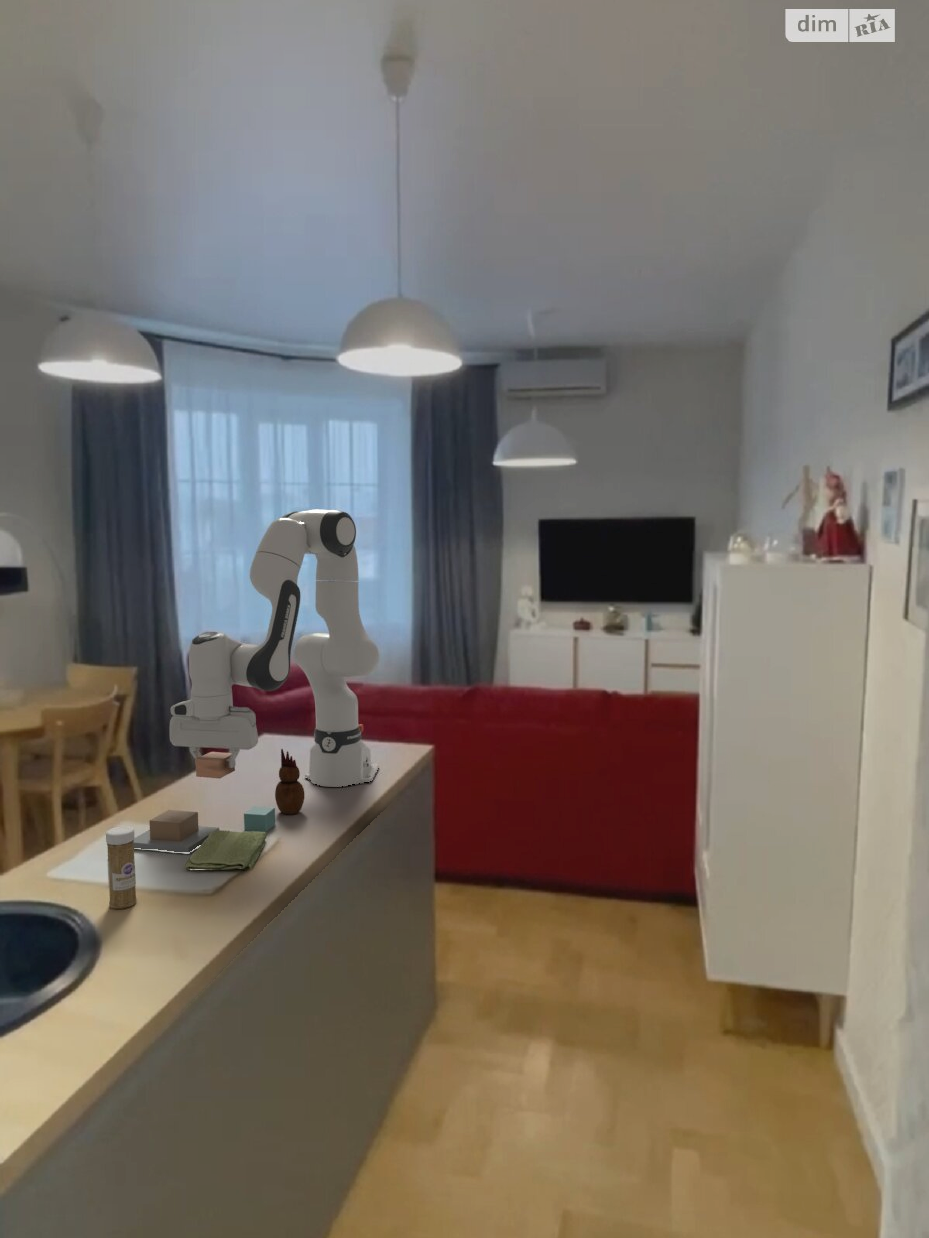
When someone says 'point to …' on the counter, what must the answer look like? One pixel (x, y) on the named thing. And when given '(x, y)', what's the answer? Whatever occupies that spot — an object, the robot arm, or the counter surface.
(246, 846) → the washcloth
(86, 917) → the counter surface
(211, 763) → the brick
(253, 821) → the brick
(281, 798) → the wooden figurine
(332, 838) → the counter surface
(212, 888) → the counter surface
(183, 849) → the baseplate
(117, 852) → the sprinkles bottle
